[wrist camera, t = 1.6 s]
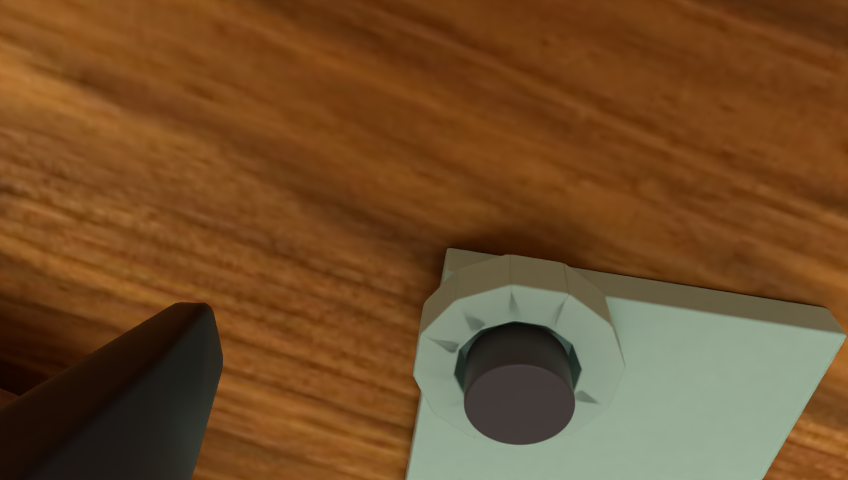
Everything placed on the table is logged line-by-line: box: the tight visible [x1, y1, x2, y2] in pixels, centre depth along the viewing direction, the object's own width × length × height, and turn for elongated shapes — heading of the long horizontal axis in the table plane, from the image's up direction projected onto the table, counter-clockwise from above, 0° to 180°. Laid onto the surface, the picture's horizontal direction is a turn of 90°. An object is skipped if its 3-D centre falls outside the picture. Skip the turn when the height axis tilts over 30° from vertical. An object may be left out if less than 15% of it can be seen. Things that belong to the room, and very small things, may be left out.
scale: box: [404, 248, 846, 480], centre depth 23 cm, size 12×13×3 cm
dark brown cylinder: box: [464, 324, 575, 445], centre depth 19 cm, size 3×3×2 cm
